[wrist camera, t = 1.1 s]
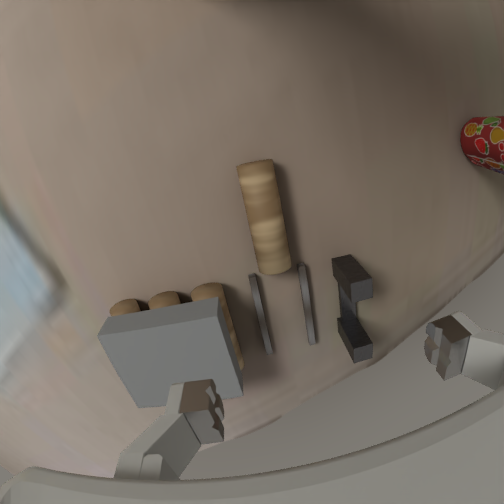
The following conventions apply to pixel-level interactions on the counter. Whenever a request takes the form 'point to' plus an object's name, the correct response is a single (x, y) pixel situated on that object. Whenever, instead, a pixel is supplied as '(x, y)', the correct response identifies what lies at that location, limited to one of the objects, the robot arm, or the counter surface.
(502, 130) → the smoothie
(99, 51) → the counter surface
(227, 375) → the slab
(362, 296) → the posts
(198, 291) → the roller bed
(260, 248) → the roller
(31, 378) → the counter surface
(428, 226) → the counter surface
